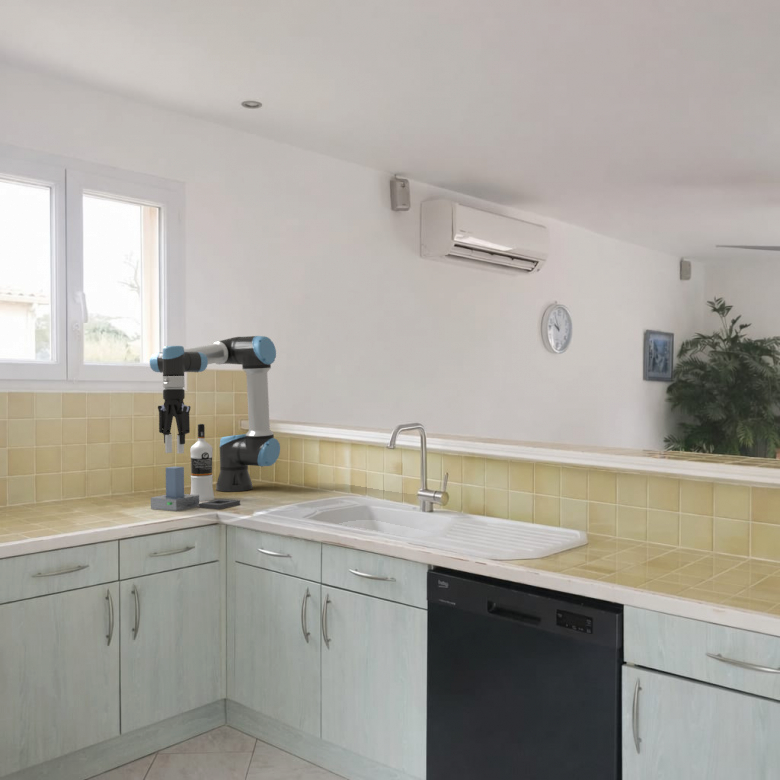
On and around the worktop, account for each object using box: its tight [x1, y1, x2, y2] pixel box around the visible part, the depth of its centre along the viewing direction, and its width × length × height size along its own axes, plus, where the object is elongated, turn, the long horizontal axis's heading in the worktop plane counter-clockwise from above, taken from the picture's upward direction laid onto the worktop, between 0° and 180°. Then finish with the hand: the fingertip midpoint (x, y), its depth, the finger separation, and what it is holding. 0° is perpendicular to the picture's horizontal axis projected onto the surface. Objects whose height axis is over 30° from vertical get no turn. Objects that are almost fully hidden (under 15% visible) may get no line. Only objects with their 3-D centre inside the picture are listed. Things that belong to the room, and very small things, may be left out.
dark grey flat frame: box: [198, 498, 241, 511], centre depth 293 cm, size 12×9×2 cm
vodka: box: [189, 423, 215, 502], centre depth 309 cm, size 9×9×30 cm
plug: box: [165, 465, 185, 498], centre depth 291 cm, size 4×4×14 cm
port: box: [150, 493, 200, 512], centre depth 291 cm, size 13×12×5 cm
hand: (174, 452), depth 291 cm, fingers open, 5 cm apart
